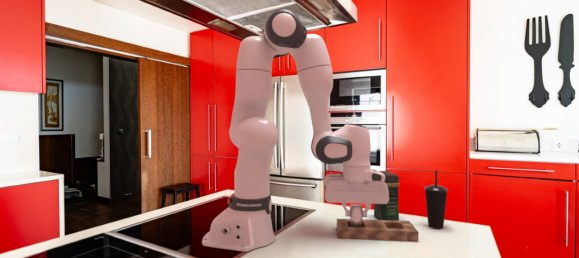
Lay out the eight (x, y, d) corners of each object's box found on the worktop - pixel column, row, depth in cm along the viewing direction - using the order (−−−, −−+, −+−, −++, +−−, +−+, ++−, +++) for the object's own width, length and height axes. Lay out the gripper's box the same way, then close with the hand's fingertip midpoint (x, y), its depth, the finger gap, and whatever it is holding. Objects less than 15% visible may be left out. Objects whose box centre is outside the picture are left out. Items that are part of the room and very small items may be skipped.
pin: (350, 235, 97) (350, 207, 97) (349, 230, 101) (349, 204, 101) (363, 235, 97) (363, 207, 96) (361, 231, 101) (361, 204, 100)
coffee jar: (402, 224, 110) (402, 173, 109) (381, 225, 109) (381, 174, 108) (390, 216, 120) (390, 169, 119) (371, 217, 119) (371, 169, 118)
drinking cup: (421, 222, 112) (422, 168, 112) (444, 223, 111) (444, 169, 110) (426, 229, 105) (427, 172, 104) (450, 231, 103) (451, 172, 102)
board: (338, 241, 94) (338, 228, 94) (336, 230, 104) (336, 217, 104) (418, 244, 92) (418, 230, 92) (409, 232, 102) (409, 220, 102)
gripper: (324, 175, 96) (323, 218, 97) (390, 176, 94) (390, 220, 94) (323, 171, 102) (323, 212, 103) (386, 172, 100) (385, 214, 101)
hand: (356, 216), depth 99 cm, fingers closed on pin, 4 cm apart
